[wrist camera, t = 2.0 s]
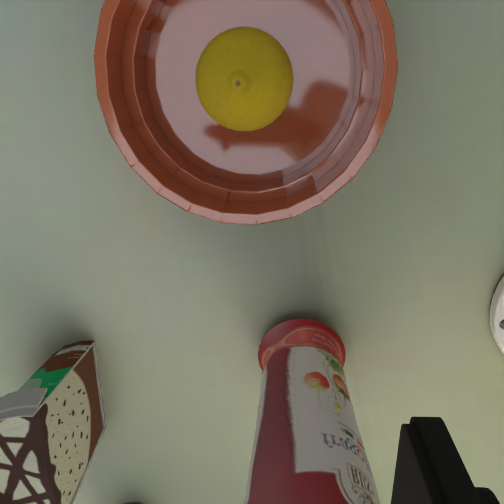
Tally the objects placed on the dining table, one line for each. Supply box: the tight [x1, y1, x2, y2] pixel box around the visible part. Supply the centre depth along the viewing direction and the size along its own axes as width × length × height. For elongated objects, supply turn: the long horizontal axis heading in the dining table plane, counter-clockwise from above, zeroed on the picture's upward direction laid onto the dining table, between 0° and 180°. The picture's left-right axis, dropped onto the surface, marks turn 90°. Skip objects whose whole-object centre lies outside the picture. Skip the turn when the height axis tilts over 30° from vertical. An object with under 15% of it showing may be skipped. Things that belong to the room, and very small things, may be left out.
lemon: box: [195, 26, 294, 131], centre depth 26 cm, size 6×6×8 cm
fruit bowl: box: [94, 0, 398, 225], centre depth 27 cm, size 16×16×6 cm
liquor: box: [245, 319, 380, 504], centre depth 25 cm, size 7×7×28 cm
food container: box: [0, 341, 105, 504], centre depth 36 cm, size 12×6×10 cm, turn 179°
